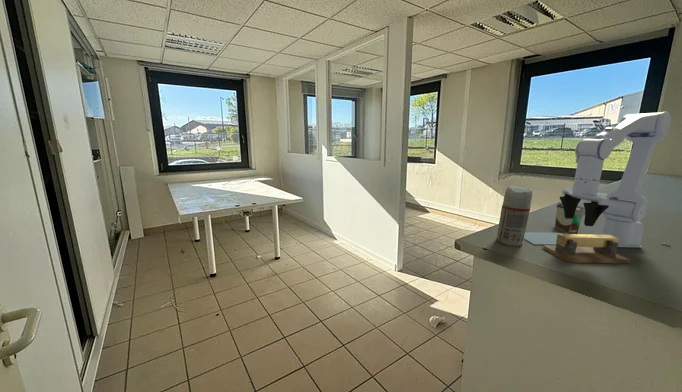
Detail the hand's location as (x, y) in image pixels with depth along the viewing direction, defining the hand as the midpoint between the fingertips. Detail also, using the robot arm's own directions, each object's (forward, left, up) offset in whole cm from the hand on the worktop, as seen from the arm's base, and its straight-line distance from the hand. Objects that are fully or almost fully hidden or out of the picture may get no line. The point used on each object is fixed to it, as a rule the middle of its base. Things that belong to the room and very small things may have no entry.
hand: (578, 221), depth 84 cm
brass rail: (-2, +2, -5) cm, 6 cm away
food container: (-17, -22, -10) cm, 29 cm away
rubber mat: (-2, -12, -10) cm, 16 cm away
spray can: (+15, -8, -10) cm, 20 cm away
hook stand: (-2, +2, -10) cm, 11 cm away
